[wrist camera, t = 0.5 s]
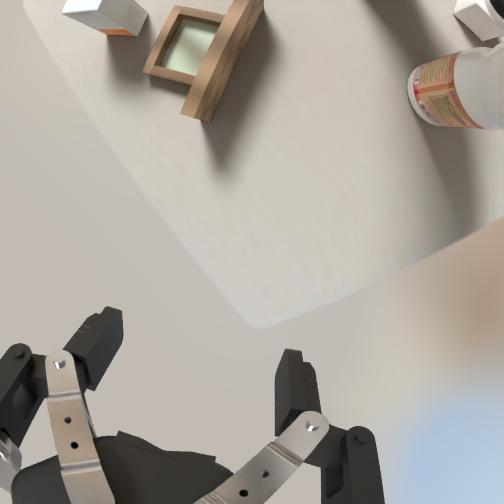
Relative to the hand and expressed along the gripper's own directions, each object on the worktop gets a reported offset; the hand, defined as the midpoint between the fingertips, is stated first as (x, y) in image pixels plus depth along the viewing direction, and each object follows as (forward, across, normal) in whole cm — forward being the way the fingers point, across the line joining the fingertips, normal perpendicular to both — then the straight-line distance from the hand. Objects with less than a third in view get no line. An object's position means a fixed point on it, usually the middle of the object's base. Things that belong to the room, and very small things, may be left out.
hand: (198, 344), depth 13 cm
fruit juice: (+28, -22, -23) cm, 42 cm away
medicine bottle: (+28, -29, -43) cm, 59 cm away
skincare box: (+28, +22, -24) cm, 43 cm away
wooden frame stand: (+27, +10, -20) cm, 35 cm away
